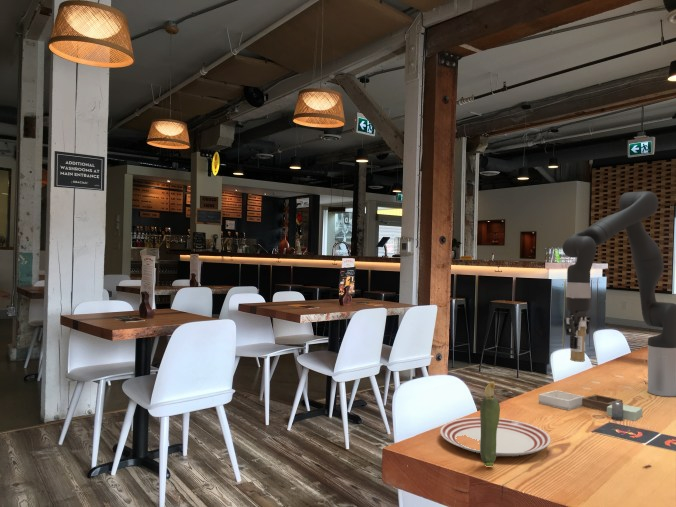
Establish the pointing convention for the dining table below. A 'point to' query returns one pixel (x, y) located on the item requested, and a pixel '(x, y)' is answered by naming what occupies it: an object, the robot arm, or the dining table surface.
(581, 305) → the robot arm
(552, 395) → the tray
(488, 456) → the vegetable
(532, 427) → the dinner plate
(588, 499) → the dining table surface
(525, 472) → the dining table surface
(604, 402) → the socket block
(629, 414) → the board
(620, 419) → the cylinder
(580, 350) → the sprinkles bottle
